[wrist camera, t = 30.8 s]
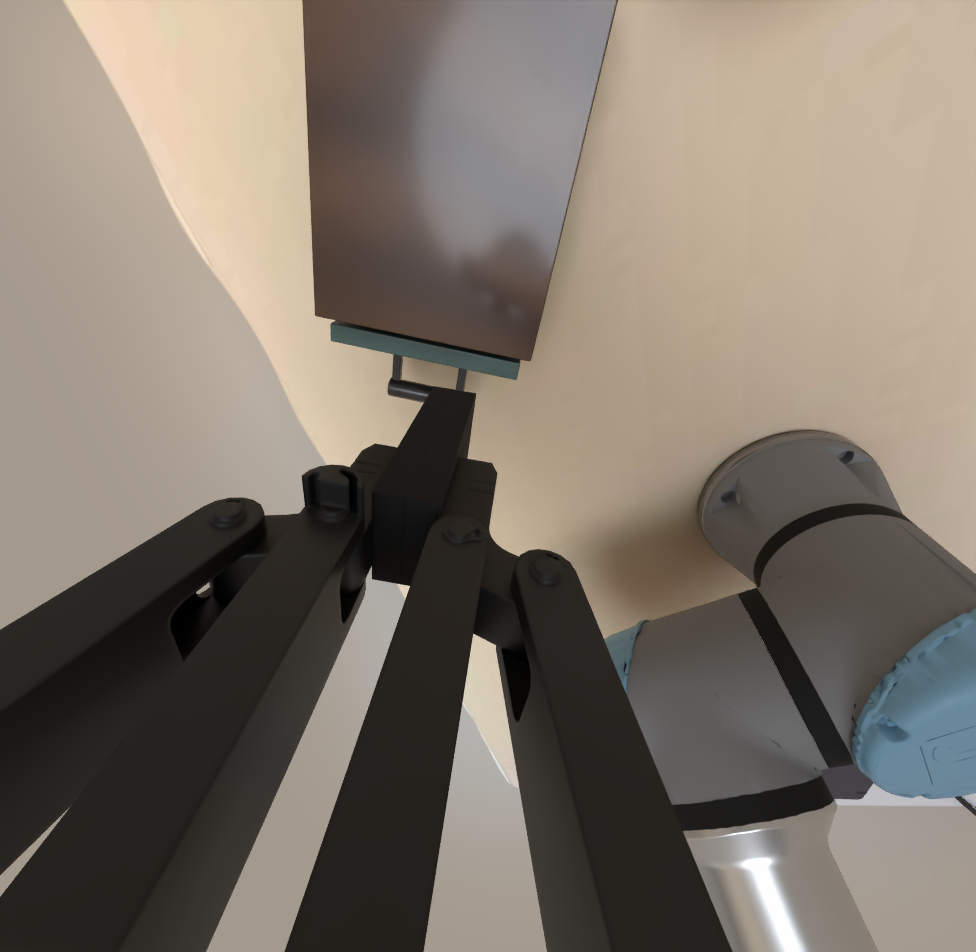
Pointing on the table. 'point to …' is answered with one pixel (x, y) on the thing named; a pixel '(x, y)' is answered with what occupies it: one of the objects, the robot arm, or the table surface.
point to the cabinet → (446, 159)
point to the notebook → (846, 782)
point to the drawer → (422, 357)
